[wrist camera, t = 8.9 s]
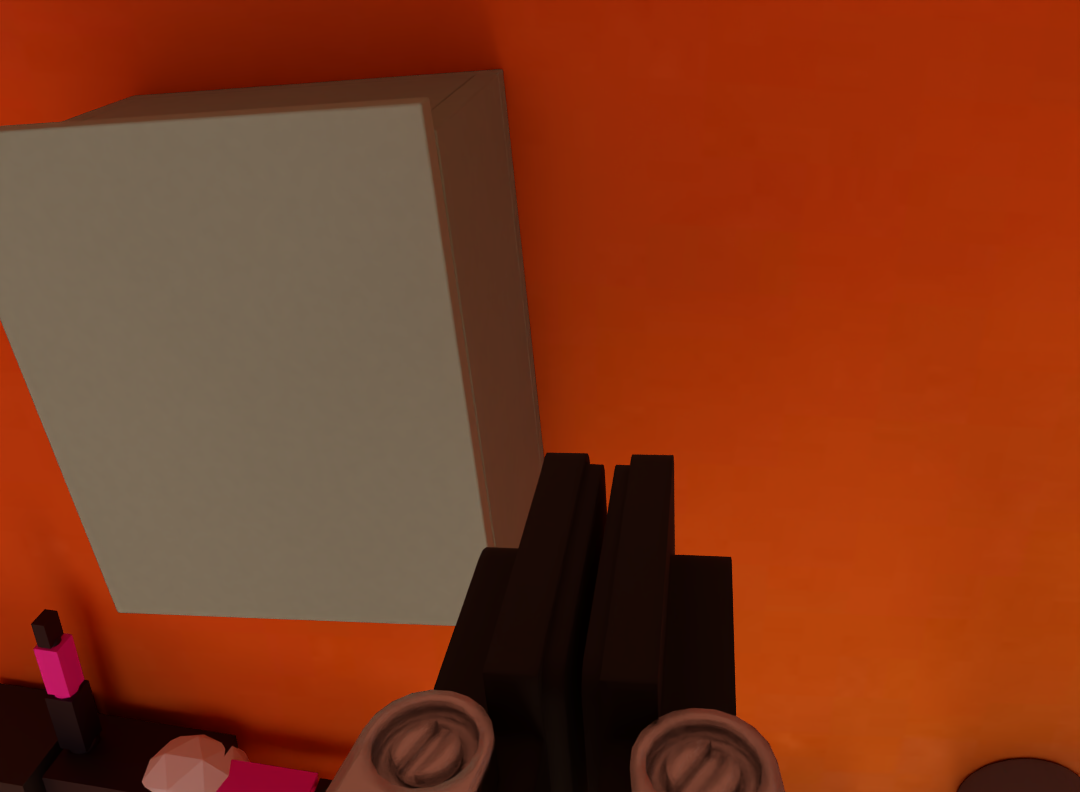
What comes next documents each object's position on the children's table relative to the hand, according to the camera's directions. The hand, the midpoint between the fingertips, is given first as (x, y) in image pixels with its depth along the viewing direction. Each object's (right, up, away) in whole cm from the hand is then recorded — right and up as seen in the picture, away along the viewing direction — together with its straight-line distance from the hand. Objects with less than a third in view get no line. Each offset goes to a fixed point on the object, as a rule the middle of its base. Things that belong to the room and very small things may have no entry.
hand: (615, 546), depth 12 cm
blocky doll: (-18, -17, +38) cm, 45 cm away
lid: (-10, +2, +15) cm, 18 cm away
